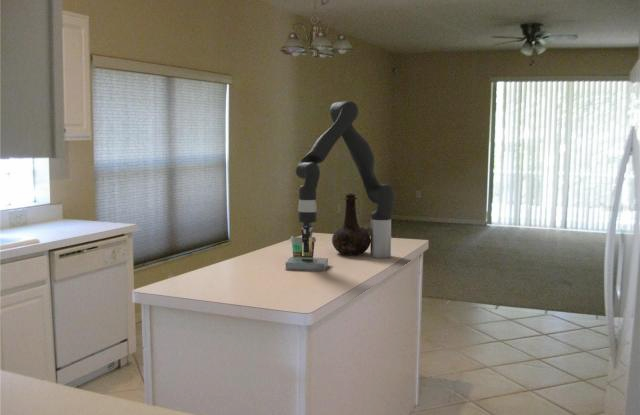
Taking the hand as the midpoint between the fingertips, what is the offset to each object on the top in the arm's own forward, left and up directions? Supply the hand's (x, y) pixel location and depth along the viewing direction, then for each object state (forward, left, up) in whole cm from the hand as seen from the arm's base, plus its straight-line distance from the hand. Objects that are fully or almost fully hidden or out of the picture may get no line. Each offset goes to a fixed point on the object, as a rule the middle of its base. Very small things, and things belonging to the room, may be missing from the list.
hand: (307, 251), depth 266 cm
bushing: (0, 0, -2) cm, 2 cm away
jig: (0, 0, -7) cm, 7 cm away
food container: (+6, -18, -7) cm, 20 cm away
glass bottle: (-15, -35, -7) cm, 39 cm away
